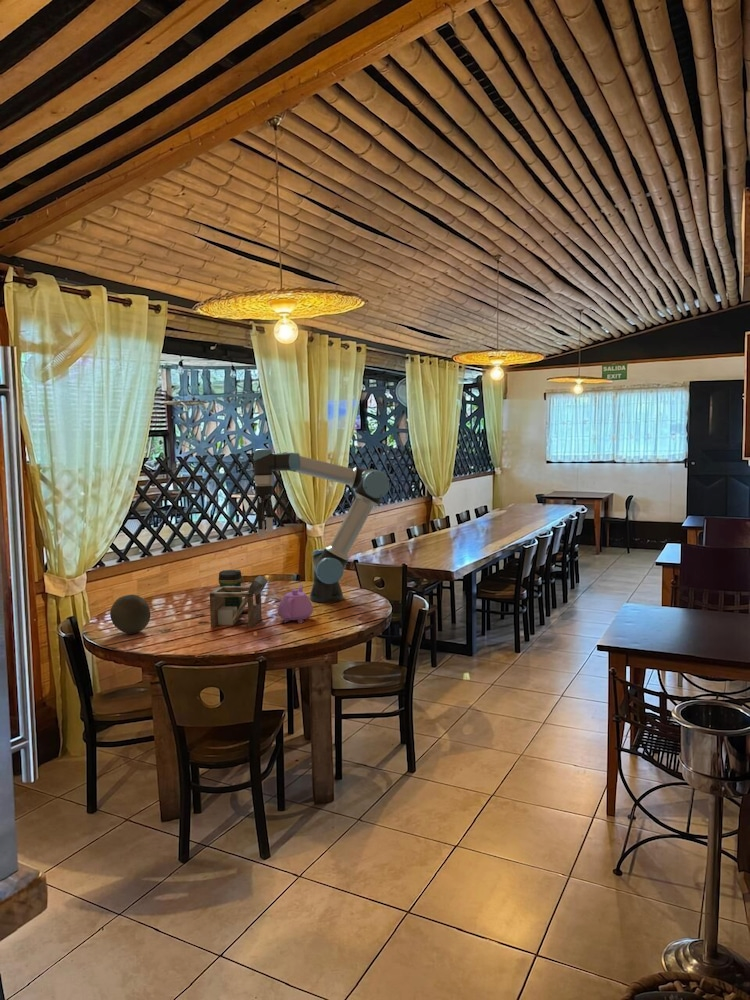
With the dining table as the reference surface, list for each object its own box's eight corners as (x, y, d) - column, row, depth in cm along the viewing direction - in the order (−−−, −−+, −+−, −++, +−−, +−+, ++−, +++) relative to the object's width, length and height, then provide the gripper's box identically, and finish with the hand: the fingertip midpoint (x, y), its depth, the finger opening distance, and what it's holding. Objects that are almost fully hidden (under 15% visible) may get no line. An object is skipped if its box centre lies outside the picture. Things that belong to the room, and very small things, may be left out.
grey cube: (236, 606, 274) (222, 606, 274) (232, 610, 268) (217, 610, 268) (237, 621, 274) (223, 621, 275) (232, 625, 268) (218, 625, 269)
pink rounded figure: (286, 612, 286) (285, 583, 285) (319, 613, 283) (318, 584, 282) (271, 625, 266) (270, 594, 265) (306, 626, 264) (305, 595, 262)
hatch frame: (261, 618, 276) (260, 586, 275) (252, 627, 264) (251, 593, 263) (221, 618, 278) (220, 586, 277) (210, 626, 266) (209, 593, 265)
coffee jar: (245, 610, 290) (243, 568, 289) (240, 615, 282) (238, 571, 281) (223, 610, 291) (221, 568, 289) (217, 615, 283) (216, 572, 282)
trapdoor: (268, 580, 273) (259, 575, 273) (262, 584, 264) (253, 579, 264) (245, 619, 275) (237, 614, 275) (239, 625, 267) (230, 619, 267)
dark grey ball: (120, 629, 265) (118, 591, 264) (156, 628, 265) (154, 591, 264) (105, 639, 251) (103, 599, 250) (143, 639, 251) (141, 599, 250)
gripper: (263, 483, 300) (264, 530, 302) (246, 487, 275) (248, 538, 277) (279, 483, 299) (281, 530, 301) (264, 487, 275) (266, 538, 276)
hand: (265, 534), depth 289 cm, fingers open, 13 cm apart
